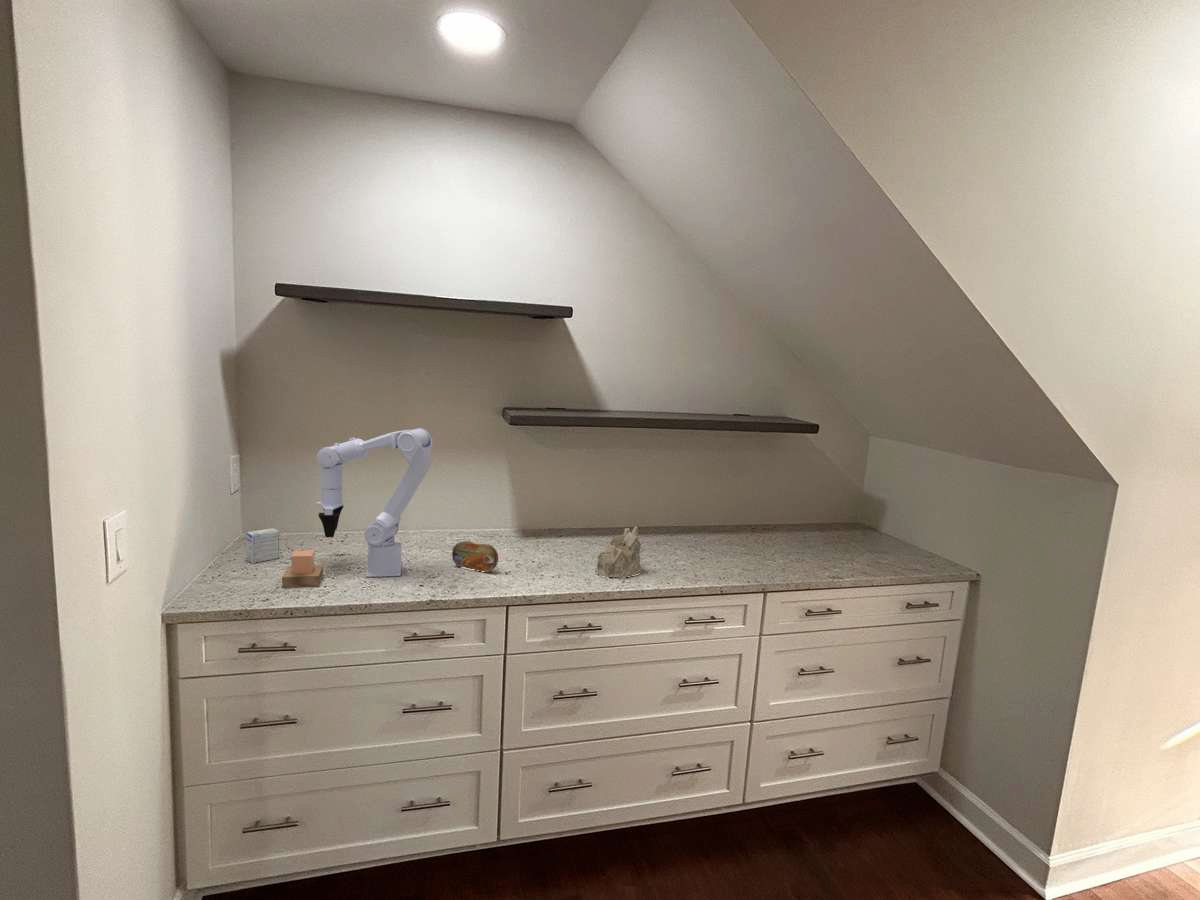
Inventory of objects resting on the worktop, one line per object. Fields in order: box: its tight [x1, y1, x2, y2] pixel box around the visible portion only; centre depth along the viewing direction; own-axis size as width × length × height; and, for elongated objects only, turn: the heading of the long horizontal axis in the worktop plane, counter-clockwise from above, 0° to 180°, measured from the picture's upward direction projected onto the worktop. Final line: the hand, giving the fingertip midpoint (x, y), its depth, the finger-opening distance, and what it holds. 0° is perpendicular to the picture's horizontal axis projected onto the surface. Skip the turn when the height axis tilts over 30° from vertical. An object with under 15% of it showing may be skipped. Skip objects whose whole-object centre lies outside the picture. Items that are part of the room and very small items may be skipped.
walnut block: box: [281, 564, 324, 589], centre depth 173 cm, size 9×9×3 cm
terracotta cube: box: [290, 549, 315, 574], centre depth 172 cm, size 5×5×5 cm
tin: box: [451, 540, 499, 573], centre depth 191 cm, size 15×3×8 cm, turn 68°
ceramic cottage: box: [594, 526, 642, 577], centre depth 198 cm, size 16×16×15 cm
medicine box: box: [245, 527, 281, 564], centre depth 188 cm, size 8×4×9 cm, turn 141°
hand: (331, 533), depth 184 cm, fingers open, 7 cm apart
